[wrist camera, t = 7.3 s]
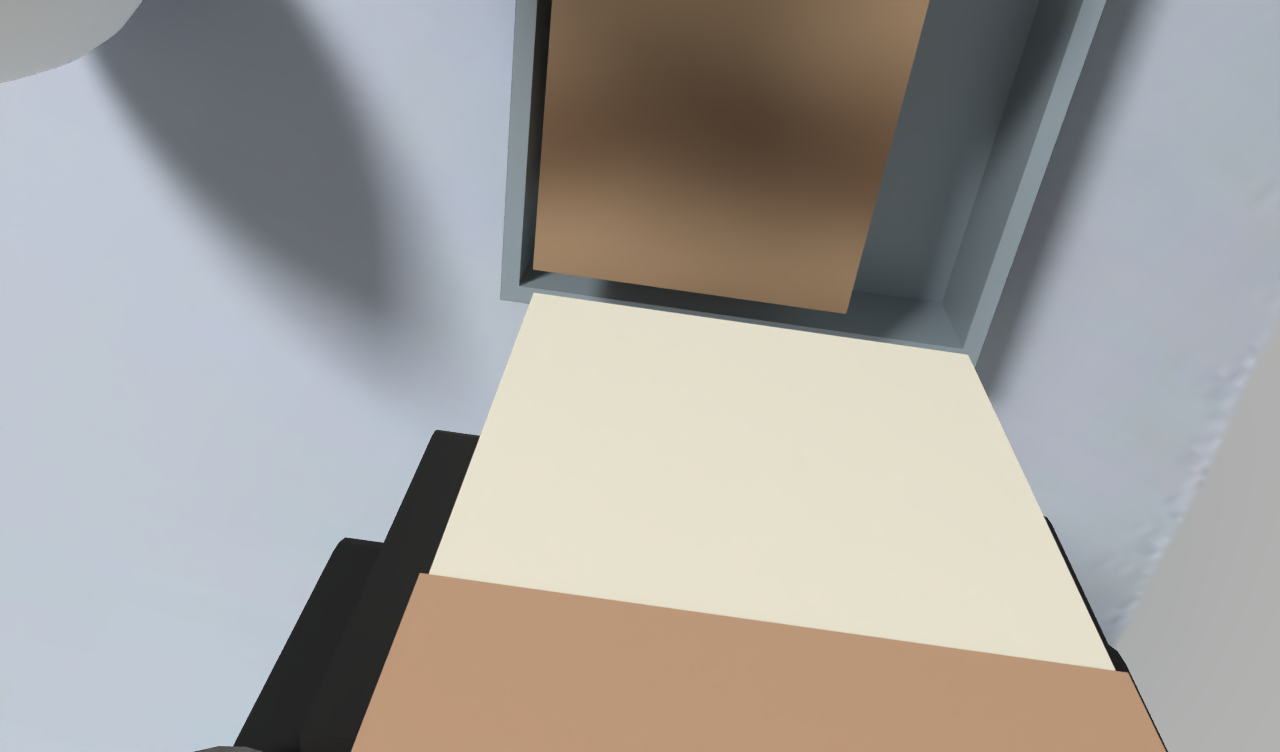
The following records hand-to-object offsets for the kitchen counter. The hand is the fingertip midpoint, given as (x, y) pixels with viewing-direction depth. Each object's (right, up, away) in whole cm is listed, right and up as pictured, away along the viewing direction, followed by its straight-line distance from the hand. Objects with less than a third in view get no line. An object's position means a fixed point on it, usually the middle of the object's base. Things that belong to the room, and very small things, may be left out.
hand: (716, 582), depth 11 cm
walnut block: (+2, +12, +20) cm, 24 cm away
